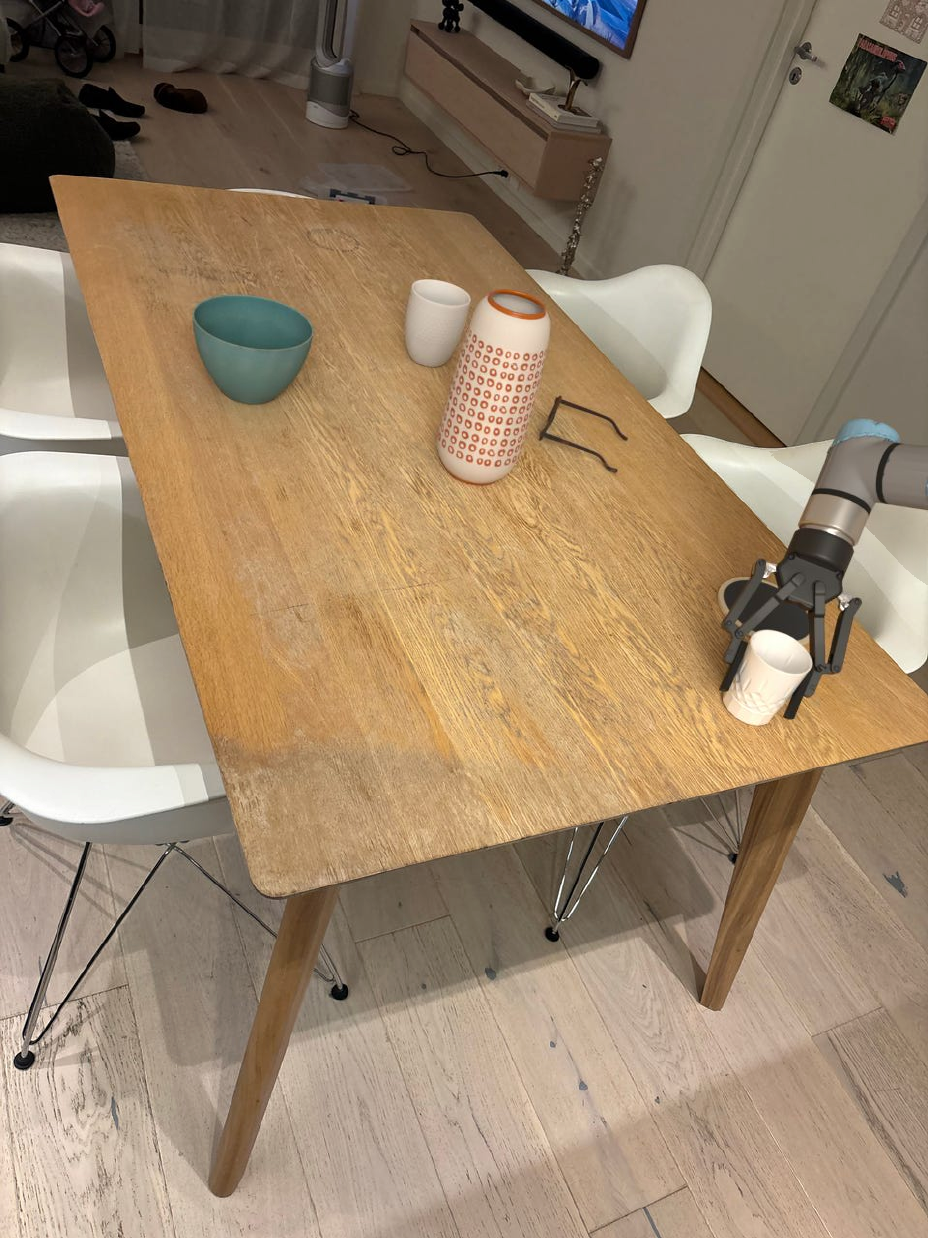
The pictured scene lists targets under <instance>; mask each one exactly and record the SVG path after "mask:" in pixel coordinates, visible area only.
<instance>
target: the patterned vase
mask: <svg viewBox="0 0 928 1238" xmlns="http://www.w3.org/2000/svg"><path fill="white" fill-rule="evenodd" d="M551 325H552V324H551V319H550V315H549V313H548V311H547V309H546V306H545V304H544V303H543V302H542V301H541V300H539V299H538V298H536V297H535V296H533V295H530V294H528V293H526V292H524V291H519V290H516V289H508V288H499V289H494V290H492V291H491V292H490V293H489V294H488V295H486V296H483V298H482V299H480V301H479V302H478V303H477V305H476V307H475V309H474V311H473V314H472V316H471V319H470V322H469V324H468V327H467V330H466V333H465V336H464V338H463V342H462V345H461V349H460V351H459V354H458V358H457V361H456V364H455V368H454V371H453V374H452V379H451V381H450V384H449V389H448V393H447V396H446V399H445V403H444V407H443V410H442V414H441V417H440V420H439V425H438V429H437V434H436V448H437V449H436V450H437V454H438V457H439V460H440V461H441V463H442V464H443V466H444V467H445V470H446V471H447V472H448V474H449V475H450V476H452V477H453V478H454V479H456V480H458V481H460V482H462V483H465V484H468V485H473V486H488V485H492V484H493V483H495V482H497V481H499V480H502V479H503V478H504V477H506V476H507V475H508V474H510V473H511V471H512V470H513V469H514V468H515V466H516V464H517V463H518V460H519V459H520V456H521V453H522V449H523V446H524V442H525V438H526V435H527V432H528V428H529V424H530V421H531V417H532V415H533V410H534V406H535V403H536V399H537V395H538V391H539V387H540V383H541V378H542V374H543V370H544V367H545V361H546V357H547V352H548V347H549V342H550V336H551V327H552V326H551Z"/></svg>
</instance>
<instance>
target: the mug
mask: <svg viewBox="0 0 928 1238" xmlns="http://www.w3.org/2000/svg"><path fill="white" fill-rule="evenodd" d="M407 301H408V302H407V305H406V311H405V319H404V340H405V341H404V342H405V347H406V350H407V353H408V356H409V358H410V359H411V360H412V361H413V362H414V363H416V364H418V365H420V366H424V367H428V368H440V367H442V366H443V365H445V364H446V363H447V362H448V361H449V360H450V359H451V358H452V356H453V355H454V353H455V351H456V349H457V348H458V346H459V344H460V340H461V339H462V336H463V332H464V330H465V326H466V324H467V320H468V314H469V310H470V306H471V301H472V298H471V296H470V294H469V293H468V292H467V291H466V290H465V289H463V288H462V287H460V286H458V285H455V284H453V283H451V282H447V281H443V280H439V279H430V278H429V279H427V278H426V279H419V280H416V281H414V282H413V283H412V284H411V287H410V292H409V297H408V300H407Z"/></svg>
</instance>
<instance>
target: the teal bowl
mask: <svg viewBox="0 0 928 1238" xmlns="http://www.w3.org/2000/svg"><path fill="white" fill-rule="evenodd" d="M192 328H193V335H194V341H195V344H196V348H197V351H198V354H199V357H200V359H201V362H202V365H203V366H204V368H205V371H206V372H207V374H208V375H209V377H210V379H211V380H212V381H213V382H214V383H215V385H216V386H217V387H218V389H219V390H220V391H221V392H222V393H223V394H224V395H225V396H226V397H228V398H229V399H231V400H232V401H234V402H237V403H240V404H245V405H264V404H267V403H269V402H271V401H273V400H274V399H275V398H277V397H278V396H279V395H280V394H282V393H283V392H284V391H285V390H286V389H288V387H289V386H290V385H291V384H292V383H293V382H294V381H295V379H296V378H297V377H298V375H299V373H300V372H301V370H302V368H303V367H304V364H305V362H306V360H307V358H308V355H309V353H310V350H311V348H312V347H311V346H312V343H313V338H314V332H315V331H314V325H313V324H312V322H311V320H309V319H308V317H307V316H305V314H303V313H302V312H301V311H299V310H297V309H296V308H294V307H292V306H290V305H288V304H285V303H283V302H280V301H278V300H274V299H270V298H267V297H262V296H256V295H249V294H223V295H216V296H211V297H209V298H206V299H204V300H202V301H200V302H199V303H197V304H196V305H195V307H194V308H193V309H192Z"/></svg>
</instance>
